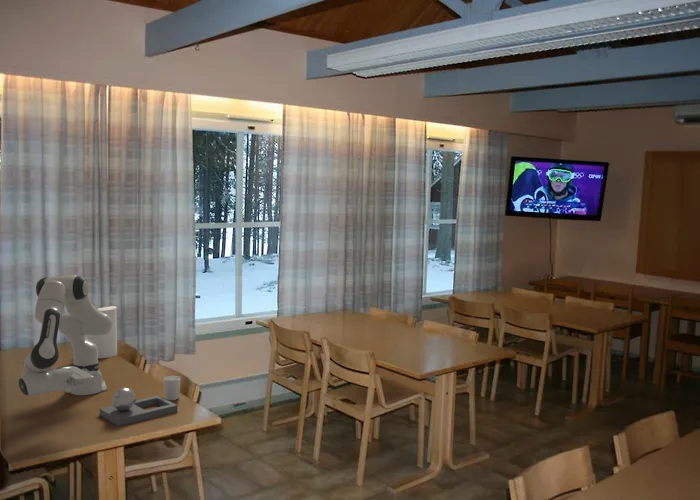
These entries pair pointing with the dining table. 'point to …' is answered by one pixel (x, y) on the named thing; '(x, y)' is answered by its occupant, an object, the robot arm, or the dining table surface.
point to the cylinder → (107, 336)
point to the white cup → (172, 387)
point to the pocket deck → (138, 411)
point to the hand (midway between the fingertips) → (96, 373)
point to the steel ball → (123, 399)
